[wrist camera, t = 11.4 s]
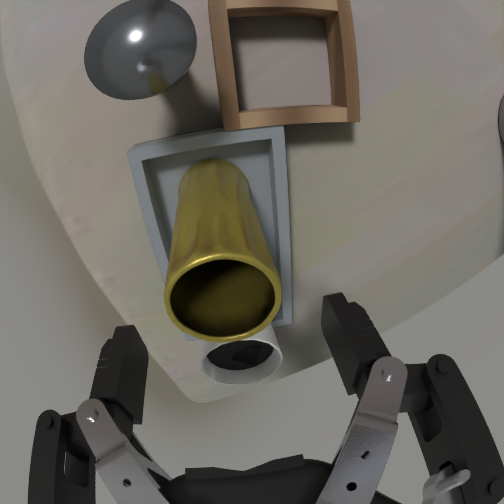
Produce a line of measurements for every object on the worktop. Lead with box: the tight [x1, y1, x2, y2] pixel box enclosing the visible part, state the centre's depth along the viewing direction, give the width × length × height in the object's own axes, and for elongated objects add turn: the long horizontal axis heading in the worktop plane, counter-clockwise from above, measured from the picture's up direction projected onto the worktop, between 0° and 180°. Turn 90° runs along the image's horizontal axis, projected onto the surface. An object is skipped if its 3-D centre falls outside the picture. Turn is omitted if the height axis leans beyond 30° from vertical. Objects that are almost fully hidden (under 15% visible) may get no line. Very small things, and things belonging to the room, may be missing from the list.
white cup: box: [201, 323, 283, 386], centre depth 26 cm, size 7×7×10 cm
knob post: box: [84, 0, 197, 100], centre depth 14 cm, size 6×6×9 cm
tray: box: [127, 125, 292, 341], centre depth 26 cm, size 12×21×3 cm, turn 5°
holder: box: [208, 0, 360, 131], centre depth 18 cm, size 11×11×3 cm
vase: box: [164, 158, 282, 343], centre depth 18 cm, size 6×6×14 cm
